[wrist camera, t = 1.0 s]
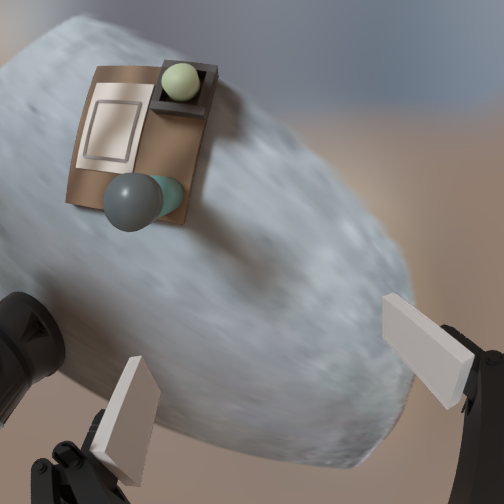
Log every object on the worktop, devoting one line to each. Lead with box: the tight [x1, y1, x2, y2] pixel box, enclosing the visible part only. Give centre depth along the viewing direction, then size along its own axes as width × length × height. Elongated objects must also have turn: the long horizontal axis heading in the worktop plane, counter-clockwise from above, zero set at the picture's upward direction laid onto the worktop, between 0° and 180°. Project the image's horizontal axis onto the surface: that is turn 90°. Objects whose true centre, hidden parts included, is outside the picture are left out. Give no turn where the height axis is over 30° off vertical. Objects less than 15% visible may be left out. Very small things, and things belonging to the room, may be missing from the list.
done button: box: [162, 63, 200, 102], centre depth 24 cm, size 4×4×3 cm
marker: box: [103, 172, 184, 232], centre depth 24 cm, size 4×4×12 cm
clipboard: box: [65, 60, 219, 225], centre depth 27 cm, size 16×18×4 cm
